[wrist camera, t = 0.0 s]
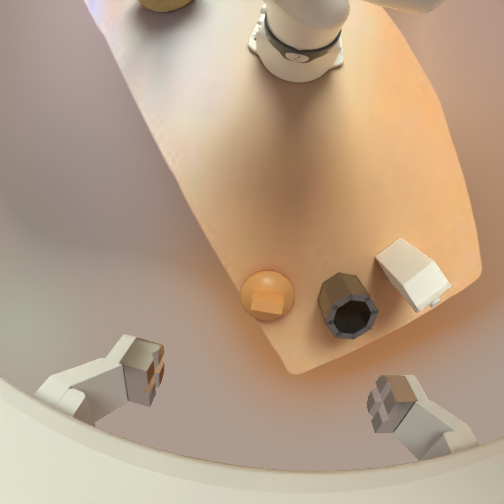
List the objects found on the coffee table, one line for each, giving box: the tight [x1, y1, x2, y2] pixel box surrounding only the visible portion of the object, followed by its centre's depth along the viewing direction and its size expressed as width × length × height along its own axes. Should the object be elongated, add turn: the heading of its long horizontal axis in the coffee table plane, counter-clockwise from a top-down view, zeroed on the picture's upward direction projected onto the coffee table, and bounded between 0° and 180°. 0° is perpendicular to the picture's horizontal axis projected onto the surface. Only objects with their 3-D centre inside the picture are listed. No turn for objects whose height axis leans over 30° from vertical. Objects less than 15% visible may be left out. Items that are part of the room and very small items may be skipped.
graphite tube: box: [318, 273, 378, 340], centre depth 56 cm, size 10×10×10 cm
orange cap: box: [240, 270, 295, 320], centre depth 58 cm, size 11×11×7 cm
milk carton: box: [375, 238, 452, 313], centre depth 48 cm, size 7×7×19 cm
